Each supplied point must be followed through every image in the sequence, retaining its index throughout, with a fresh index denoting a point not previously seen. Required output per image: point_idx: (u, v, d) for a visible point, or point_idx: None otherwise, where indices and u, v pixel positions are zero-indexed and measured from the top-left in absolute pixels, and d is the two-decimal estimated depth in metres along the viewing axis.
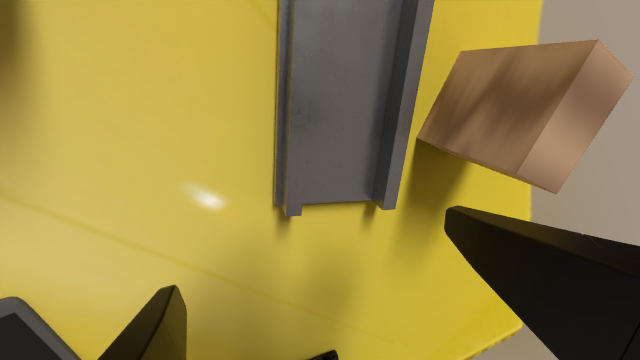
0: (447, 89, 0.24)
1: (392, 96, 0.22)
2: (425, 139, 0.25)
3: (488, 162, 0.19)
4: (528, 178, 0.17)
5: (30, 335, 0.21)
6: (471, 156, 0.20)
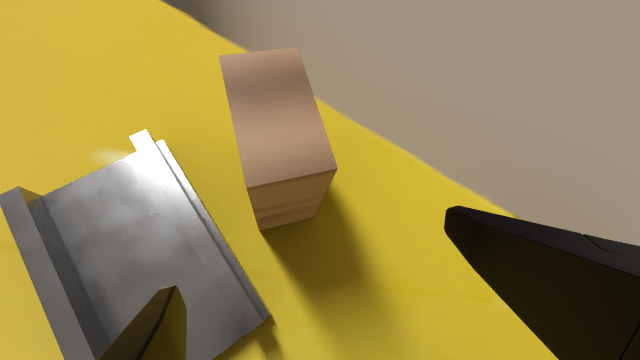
0: None
1: None
2: (258, 226, 0.21)
3: (250, 199, 0.15)
4: (272, 181, 0.13)
5: None
6: (252, 207, 0.16)
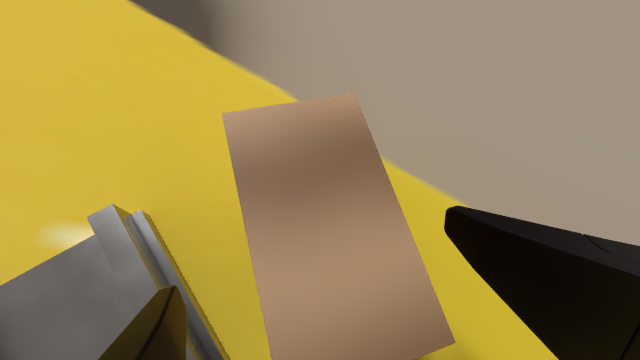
0: None
1: None
2: None
3: None
4: None
5: None
6: None
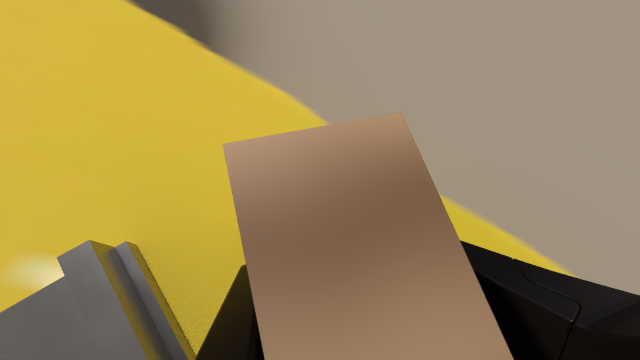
0: None
1: None
2: None
3: None
4: None
5: None
6: None
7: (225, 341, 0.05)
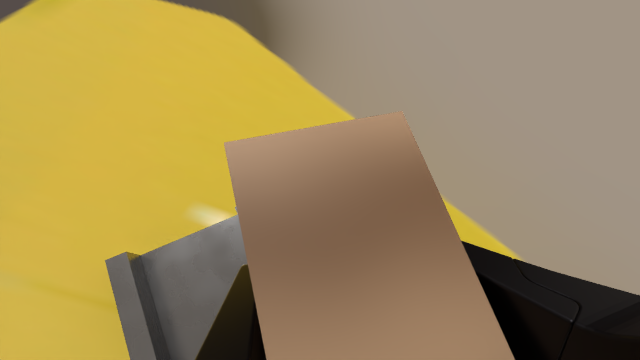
0: None
1: None
2: None
3: None
4: None
5: None
6: None
7: (225, 341, 0.05)
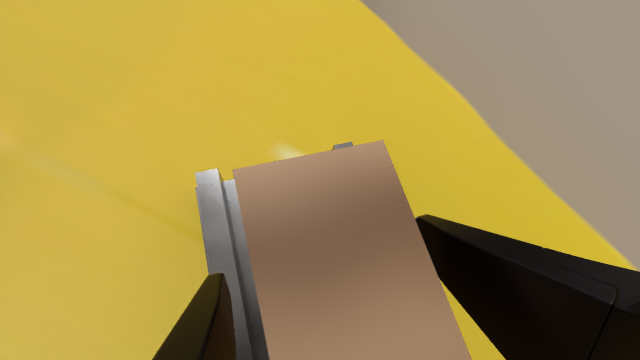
0: None
1: None
2: None
3: None
4: None
5: None
6: None
7: (174, 358, 0.05)
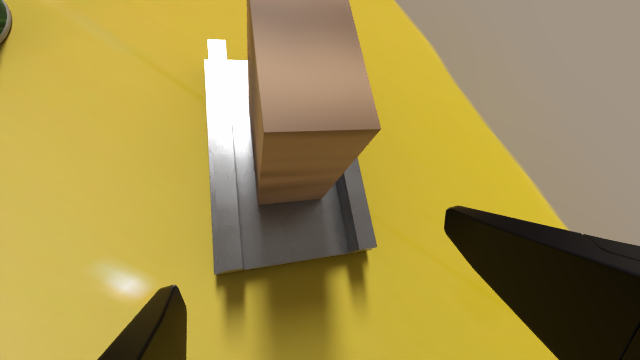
0: None
1: None
2: (257, 198, 0.18)
3: (262, 155, 0.12)
4: (297, 129, 0.10)
5: None
6: (260, 168, 0.13)
7: None
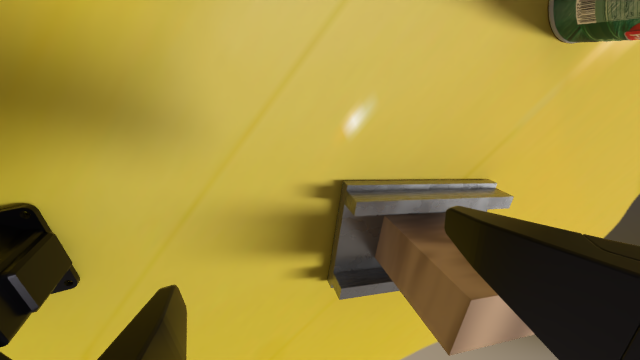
0: (433, 217, 0.26)
1: None
2: (393, 222, 0.24)
3: (447, 275, 0.18)
4: (465, 315, 0.17)
5: None
6: (432, 261, 0.19)
7: None
